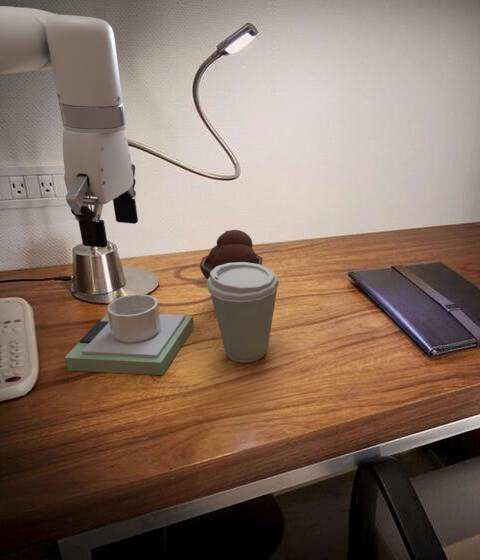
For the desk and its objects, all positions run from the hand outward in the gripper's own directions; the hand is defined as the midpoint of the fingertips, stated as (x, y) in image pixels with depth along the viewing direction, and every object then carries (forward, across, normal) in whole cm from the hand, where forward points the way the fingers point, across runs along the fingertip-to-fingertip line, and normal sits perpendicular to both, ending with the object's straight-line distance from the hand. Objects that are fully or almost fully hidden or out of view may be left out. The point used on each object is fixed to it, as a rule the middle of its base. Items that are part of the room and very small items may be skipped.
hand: (112, 233), depth 79 cm
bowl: (+16, +2, +3) cm, 16 cm away
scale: (+19, +2, +2) cm, 19 cm away
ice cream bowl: (+19, -13, +14) cm, 27 cm away
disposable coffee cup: (+19, +2, +20) cm, 28 cm away
